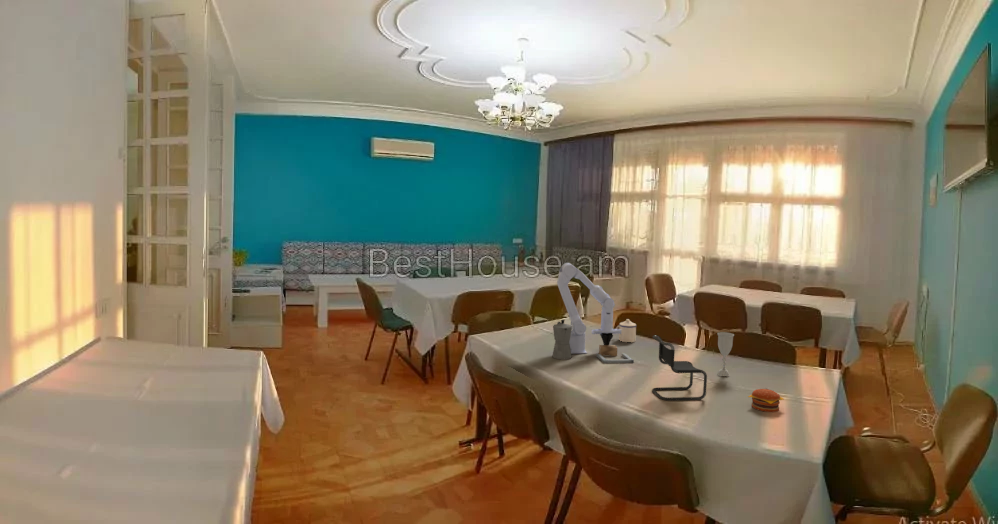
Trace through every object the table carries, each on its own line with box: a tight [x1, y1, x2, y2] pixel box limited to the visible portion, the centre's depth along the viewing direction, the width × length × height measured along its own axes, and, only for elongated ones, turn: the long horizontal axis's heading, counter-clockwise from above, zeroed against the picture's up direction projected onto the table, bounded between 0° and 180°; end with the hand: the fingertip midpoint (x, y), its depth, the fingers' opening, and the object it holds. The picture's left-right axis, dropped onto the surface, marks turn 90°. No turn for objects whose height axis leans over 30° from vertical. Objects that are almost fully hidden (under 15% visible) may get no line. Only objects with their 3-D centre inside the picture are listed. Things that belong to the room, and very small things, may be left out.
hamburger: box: [747, 388, 785, 413], centre depth 206 cm, size 9×10×7 cm
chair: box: [651, 335, 708, 402], centre depth 218 cm, size 13×17×22 cm
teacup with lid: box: [615, 318, 637, 343], centre depth 307 cm, size 12×9×12 cm
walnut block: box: [598, 344, 618, 357], centre depth 278 cm, size 8×5×4 cm, turn 88°
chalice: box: [717, 331, 735, 377], centre depth 245 cm, size 7×7×18 cm
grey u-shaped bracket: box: [595, 352, 635, 364], centre depth 269 cm, size 14×12×1 cm
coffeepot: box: [552, 319, 572, 360], centre depth 272 cm, size 15×9×18 cm, turn 8°
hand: (606, 348), depth 282 cm, fingers closed
